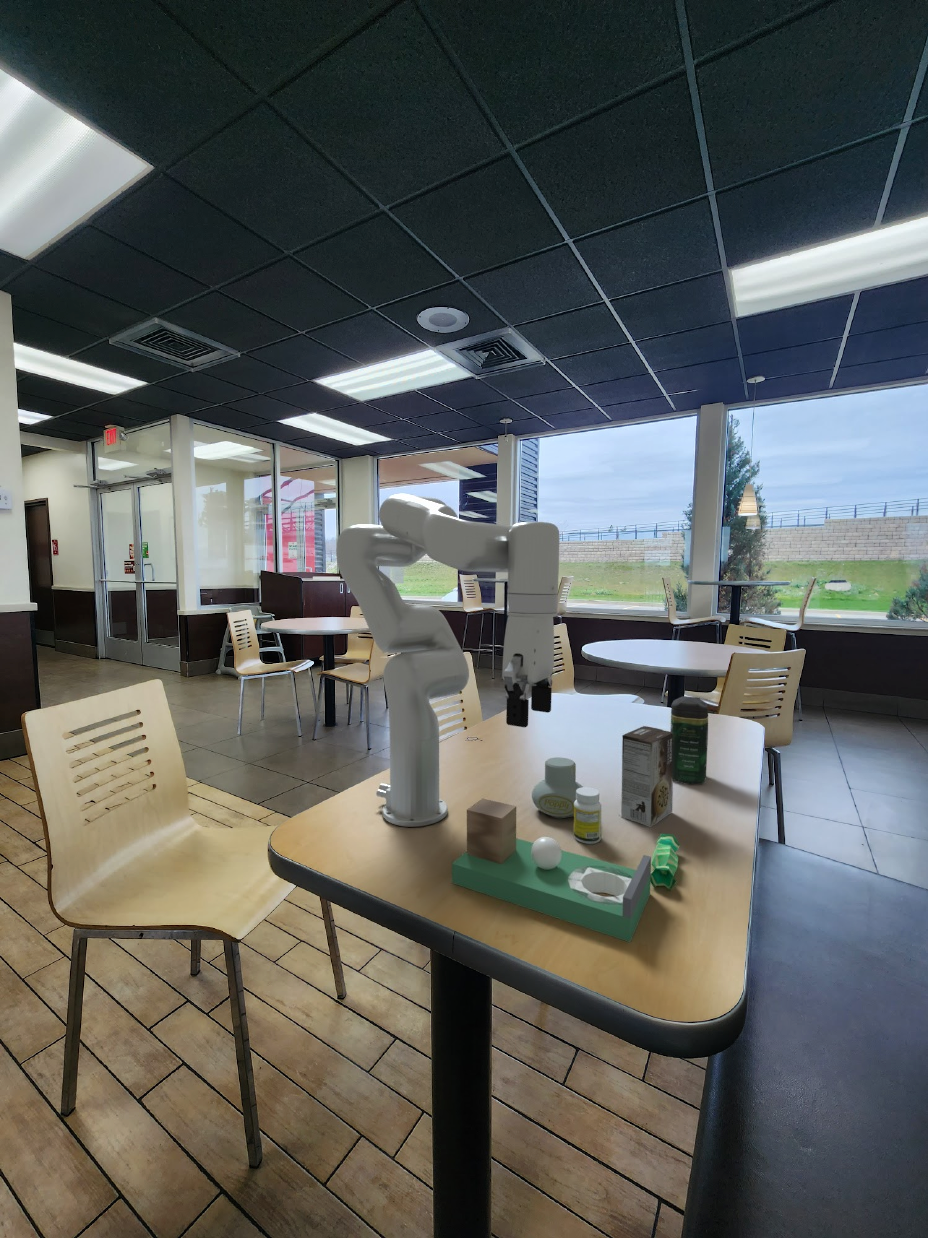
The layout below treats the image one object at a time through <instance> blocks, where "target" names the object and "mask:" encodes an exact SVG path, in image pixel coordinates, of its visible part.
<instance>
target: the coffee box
mask: <svg viewBox="0 0 928 1238" xmlns="http://www.w3.org/2000/svg"><path fill="white" fill-rule="evenodd" d="M673 733H674V732H670V731H669V730H664V729H661V728H657V727H651V726H647V725H642V726H640V727H639V728H636V729H633V730H632V731H628V732H627V733H625V734H624V733H623V734H622V741H621V742H622V745H621V747H622V750H621V753H622V754H621V757H622V758H621V760H622V761H621V811H620V813H621V815H620V816H621V818H623V819H627V820H629V821H632V822H634V823H638V824H641V825H644V826H646V827H649V828H650V827H651V828H652V827H653V826H655V825H656V824H658V823H659V822H660V821H662V820H663V819H665V818H666V817H667V816H669V815H670V814H671V813H673V796H674V795H673V792H674V791H673V790H674V787H673V785H674V782H673V781H674V780H673Z"/></svg>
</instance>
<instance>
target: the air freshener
mask: <svg viewBox="0 0 928 1238" xmlns="http://www.w3.org/2000/svg"><path fill="white" fill-rule="evenodd" d="M544 763H545V764H544V779H543V780H541V781H539V782H538V783H537V784H535V786H534V787H533V789H532V791H531V799H532V802H533V804H534V806H535V807H536V808H537V809H538V810H539V811H541V812H542V813H544V814H546V815H547V816H550V817H552V818H555V819H567V818H571V817H574V802H575V800H576V790H577V789H578V788H581V787H584V786H583V785H582V784H580V783H579V782H577V781H576V780H577V779H576V777H577V776H576V774H577V773H576V768H577V766H576V762H575V761H574V760H573V759H571V758H567V757H558V756H556V757H550V758H547V760H545V762H544Z"/></svg>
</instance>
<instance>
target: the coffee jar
mask: <svg viewBox="0 0 928 1238" xmlns="http://www.w3.org/2000/svg"><path fill="white" fill-rule="evenodd" d="M708 705H709V704H707V702H706V701H704V700H703V699H701V698H700V697H695V696H693V697H692V696H684V695H683V696H681V697H678V698H676V699H674V700H673V701H672V703H671V705H670V707H671V710H670V731H669V732H674V733H673V781H677V782H679V783H681V784H684V783H685V785H697V784H699V785H700V784H701V785H702V784H704V783H705V781H706V779H707V768H708V767H707V766H708V765H707V763H708V762H707V761H708V746H709V745H708V741H709V706H708Z"/></svg>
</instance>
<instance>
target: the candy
mask: <svg viewBox="0 0 928 1238" xmlns="http://www.w3.org/2000/svg"><path fill="white" fill-rule="evenodd" d="M654 843H655V845H656V847H655V849H654V851H653V854H652V857H651V866H652V867H653V870H652V871H651V879H650V885H652V887H653V889H654V888H656V887H657V886H659V887H661V886H662V887H666V888H667V889H668V892H670V891H671V890H672V888H673V887H674V886H675V884H676V883H677V880H676V879H675V878H676V877H674V876H675V873H676V872H677V869H678V861H679V857H678V854H676V853H677V851H678V850H679V847H680V843H679V841H678V839H677V838H676V836H675V835H674V834H667V833H661V834H660V835H659V836H658V838H657V839H656V841H654Z"/></svg>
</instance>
